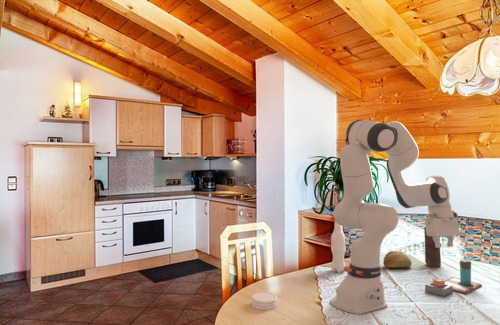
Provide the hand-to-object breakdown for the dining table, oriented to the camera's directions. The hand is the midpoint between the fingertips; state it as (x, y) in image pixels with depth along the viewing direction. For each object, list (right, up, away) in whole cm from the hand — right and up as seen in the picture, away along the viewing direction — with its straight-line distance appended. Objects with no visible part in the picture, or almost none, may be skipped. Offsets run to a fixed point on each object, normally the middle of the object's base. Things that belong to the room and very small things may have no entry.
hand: (444, 247), depth 146 cm
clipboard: (+10, -19, +7) cm, 23 cm away
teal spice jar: (+13, -18, +7) cm, 23 cm away
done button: (-2, -17, 0) cm, 17 cm away
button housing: (-2, -19, 0) cm, 19 cm away
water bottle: (-37, -20, +29) cm, 51 cm away
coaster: (-76, -20, -10) cm, 79 cm away
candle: (+15, -19, +38) cm, 45 cm away
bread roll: (-5, -19, +35) cm, 41 cm away
